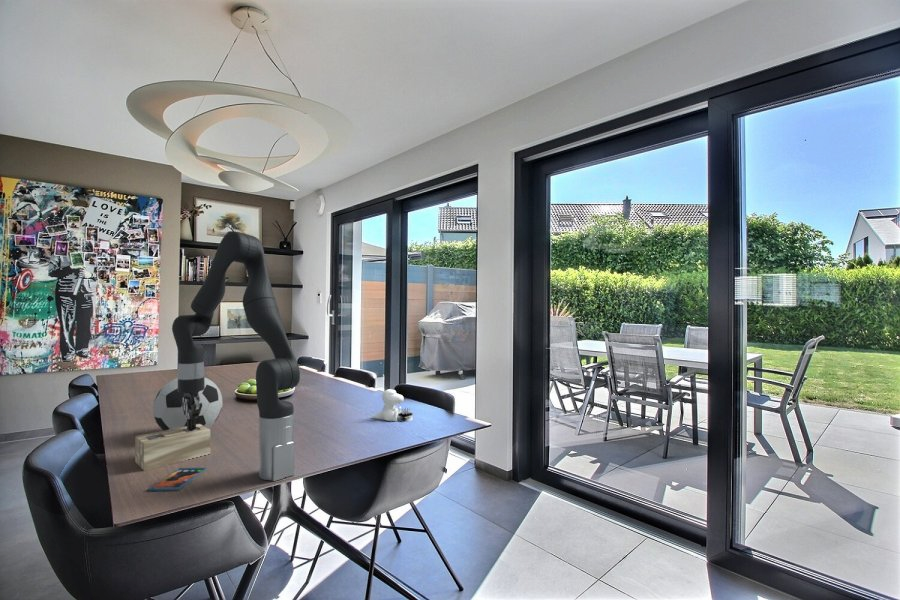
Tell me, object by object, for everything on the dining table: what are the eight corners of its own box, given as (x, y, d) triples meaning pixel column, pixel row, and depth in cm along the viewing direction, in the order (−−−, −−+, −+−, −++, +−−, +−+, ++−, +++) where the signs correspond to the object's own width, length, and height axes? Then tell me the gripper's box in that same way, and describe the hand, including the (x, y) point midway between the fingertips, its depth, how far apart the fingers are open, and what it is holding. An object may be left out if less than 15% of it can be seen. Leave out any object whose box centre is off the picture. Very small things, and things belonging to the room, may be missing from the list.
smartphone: (207, 467, 129) (178, 488, 114) (207, 471, 129) (177, 493, 114) (179, 466, 129) (146, 487, 114) (179, 471, 129) (146, 492, 114)
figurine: (410, 422, 176) (410, 392, 176) (367, 420, 179) (367, 390, 179) (415, 417, 185) (415, 387, 184) (374, 415, 187) (374, 386, 187)
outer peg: (163, 459, 134) (163, 436, 134) (150, 462, 131) (149, 439, 131) (160, 456, 136) (160, 434, 136) (146, 459, 134) (146, 437, 133)
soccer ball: (191, 447, 147) (191, 382, 147) (137, 442, 152) (136, 379, 151) (235, 428, 169) (235, 371, 169) (187, 424, 173) (186, 369, 173)
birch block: (210, 454, 141) (210, 429, 141) (144, 470, 127) (144, 443, 127) (199, 447, 147) (199, 423, 147) (135, 462, 134) (135, 436, 134)
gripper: (211, 377, 139) (211, 431, 139) (196, 372, 148) (197, 423, 148) (185, 380, 134) (185, 436, 134) (171, 375, 143) (171, 428, 143)
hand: (191, 429), depth 141 cm, fingers closed
